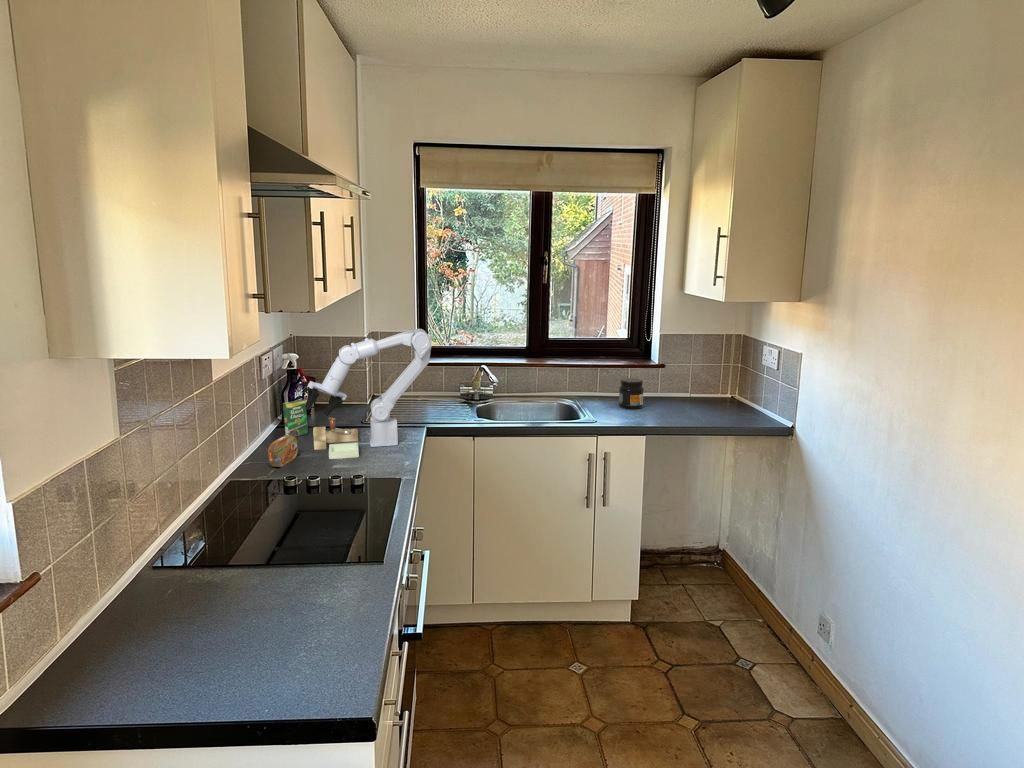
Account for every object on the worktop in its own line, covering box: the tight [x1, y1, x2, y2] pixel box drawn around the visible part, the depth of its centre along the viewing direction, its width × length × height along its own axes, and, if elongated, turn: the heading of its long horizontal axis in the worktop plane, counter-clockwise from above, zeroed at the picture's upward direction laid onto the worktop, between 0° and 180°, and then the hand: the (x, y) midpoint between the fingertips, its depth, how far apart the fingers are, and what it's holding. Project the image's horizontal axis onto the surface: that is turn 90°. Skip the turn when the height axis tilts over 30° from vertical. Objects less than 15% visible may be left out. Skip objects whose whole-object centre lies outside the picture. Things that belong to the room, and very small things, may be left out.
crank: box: [327, 416, 352, 435], centre depth 251 cm, size 11×3×5 cm, turn 59°
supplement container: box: [618, 377, 645, 410], centre depth 295 cm, size 10×10×12 cm
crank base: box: [326, 428, 359, 444], centre depth 250 cm, size 12×11×2 cm
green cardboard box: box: [282, 398, 309, 438], centre depth 251 cm, size 8×3×13 cm, turn 133°
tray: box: [328, 442, 360, 460], centre depth 231 cm, size 10×10×2 cm
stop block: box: [312, 426, 328, 451], centre depth 237 cm, size 4×4×7 cm
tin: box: [267, 434, 299, 468], centre depth 221 cm, size 15×3×8 cm, turn 168°
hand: (316, 411), depth 235 cm, fingers open, 7 cm apart
